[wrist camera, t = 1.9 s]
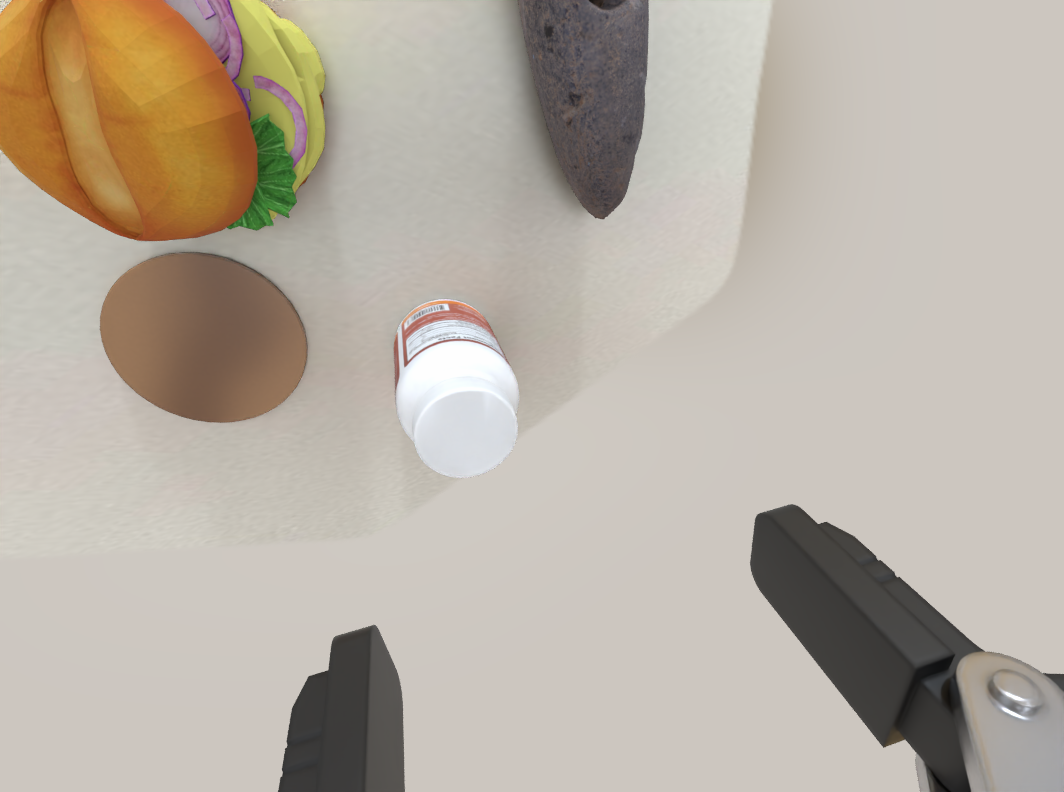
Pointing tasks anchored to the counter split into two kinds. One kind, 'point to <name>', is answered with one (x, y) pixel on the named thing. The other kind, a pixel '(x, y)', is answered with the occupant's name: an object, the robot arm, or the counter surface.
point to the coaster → (203, 337)
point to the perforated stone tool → (591, 89)
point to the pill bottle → (454, 389)
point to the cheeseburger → (161, 111)
